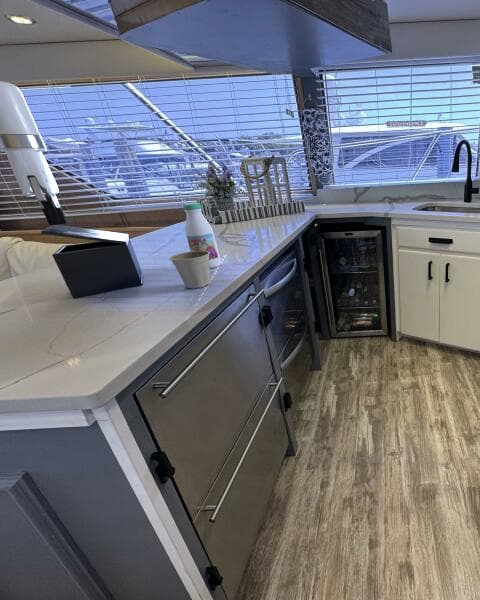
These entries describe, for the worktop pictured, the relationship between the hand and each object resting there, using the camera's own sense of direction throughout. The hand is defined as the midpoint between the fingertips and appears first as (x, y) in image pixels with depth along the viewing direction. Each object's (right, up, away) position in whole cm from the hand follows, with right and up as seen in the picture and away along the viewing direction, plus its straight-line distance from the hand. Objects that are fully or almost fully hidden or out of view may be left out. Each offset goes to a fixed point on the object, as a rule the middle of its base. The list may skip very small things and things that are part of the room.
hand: (58, 224), depth 82 cm
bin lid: (+4, -2, +4) cm, 6 cm away
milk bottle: (+24, -8, +25) cm, 35 cm away
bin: (+5, -15, +10) cm, 19 cm away
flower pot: (+31, -15, +7) cm, 36 cm away
